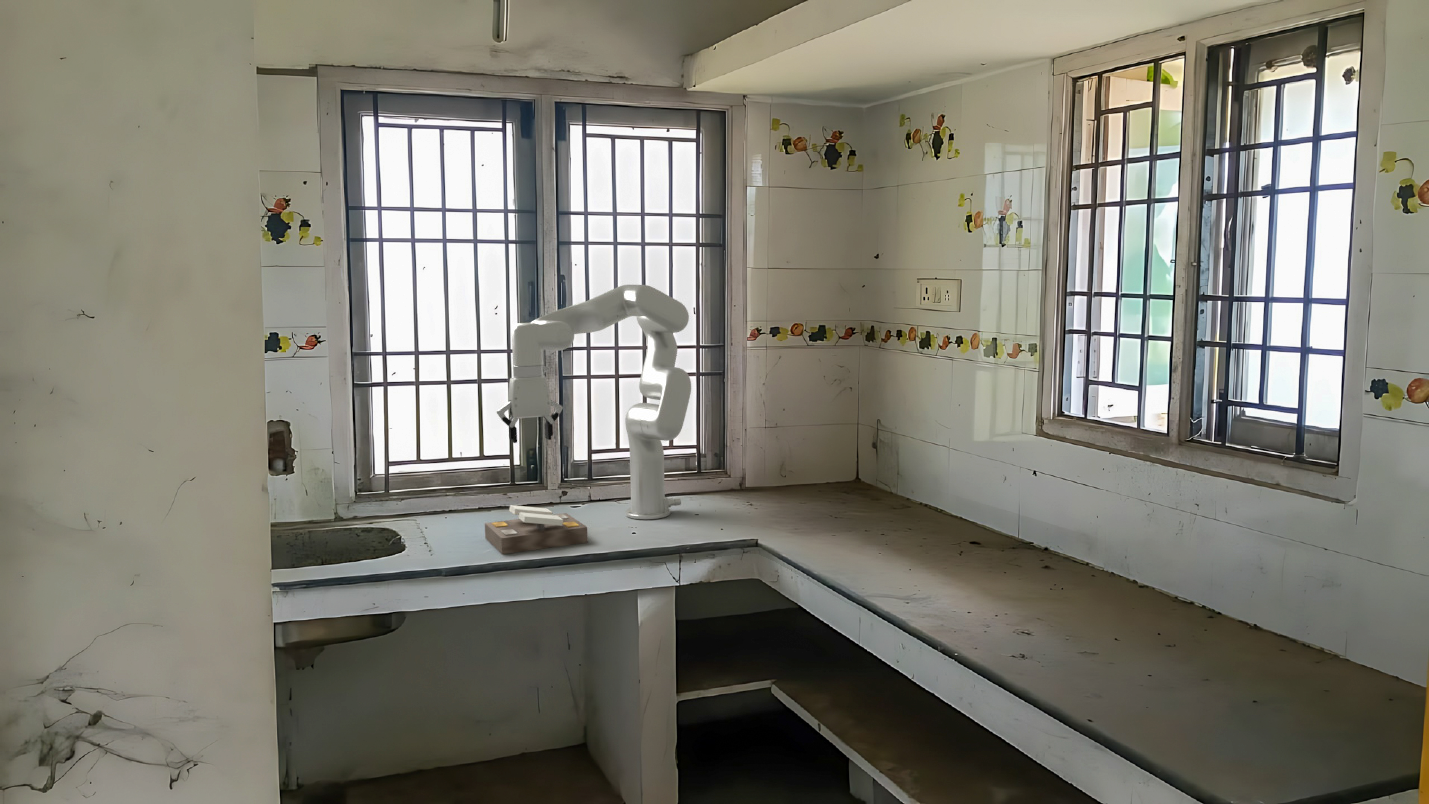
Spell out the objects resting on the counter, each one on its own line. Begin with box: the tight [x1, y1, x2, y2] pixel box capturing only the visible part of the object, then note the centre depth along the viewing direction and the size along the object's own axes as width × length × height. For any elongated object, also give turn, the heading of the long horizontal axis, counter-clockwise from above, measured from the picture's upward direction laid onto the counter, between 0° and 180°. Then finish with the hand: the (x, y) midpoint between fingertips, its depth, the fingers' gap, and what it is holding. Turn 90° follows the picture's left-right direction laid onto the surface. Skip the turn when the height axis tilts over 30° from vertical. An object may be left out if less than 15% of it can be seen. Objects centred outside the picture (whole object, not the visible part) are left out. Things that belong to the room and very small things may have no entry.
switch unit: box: [484, 512, 589, 555], centre depth 266 cm, size 22×17×6 cm
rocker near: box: [518, 512, 563, 526], centre depth 262 cm, size 10×5×2 cm, turn 116°
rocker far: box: [509, 504, 554, 516], centre depth 270 cm, size 10×5×2 cm, turn 116°
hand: (531, 440), depth 263 cm, fingers open, 8 cm apart
